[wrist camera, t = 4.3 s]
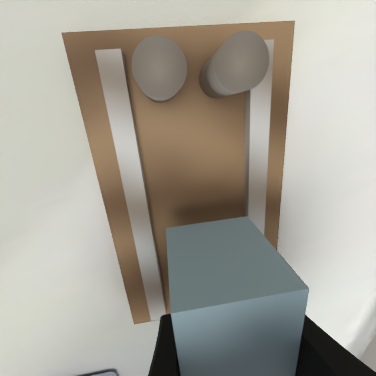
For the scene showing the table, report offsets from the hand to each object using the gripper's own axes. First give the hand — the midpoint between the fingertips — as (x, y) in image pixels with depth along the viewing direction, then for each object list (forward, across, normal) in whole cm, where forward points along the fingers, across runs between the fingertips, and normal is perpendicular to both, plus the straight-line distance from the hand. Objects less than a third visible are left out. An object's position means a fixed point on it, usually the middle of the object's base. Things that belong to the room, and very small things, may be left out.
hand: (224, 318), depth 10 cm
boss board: (+7, 0, -4) cm, 8 cm away
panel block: (+3, 0, 0) cm, 3 cm away
